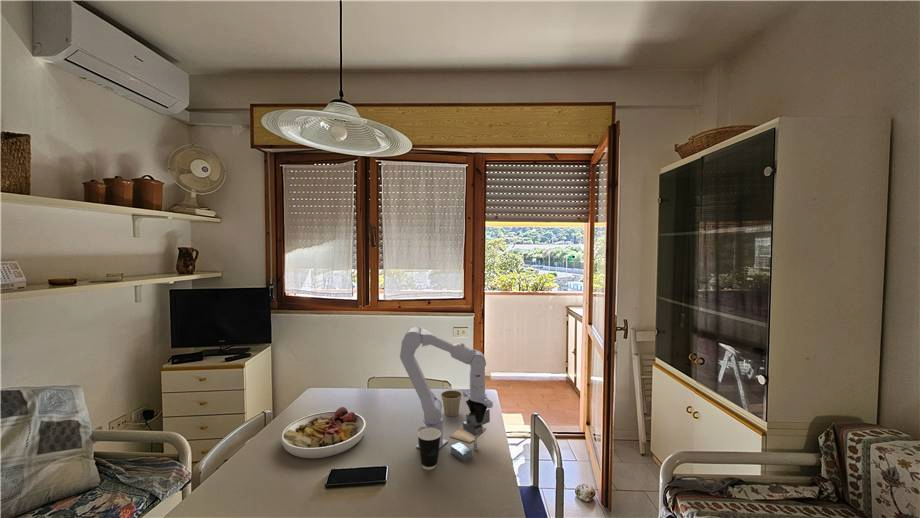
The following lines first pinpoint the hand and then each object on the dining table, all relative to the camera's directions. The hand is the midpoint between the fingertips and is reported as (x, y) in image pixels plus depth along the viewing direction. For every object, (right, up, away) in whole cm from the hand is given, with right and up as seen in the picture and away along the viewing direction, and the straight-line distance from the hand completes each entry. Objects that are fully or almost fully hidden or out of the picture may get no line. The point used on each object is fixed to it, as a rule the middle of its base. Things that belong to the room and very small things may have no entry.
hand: (477, 420), depth 142 cm
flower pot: (-10, -8, +25) cm, 28 cm away
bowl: (-58, -9, +3) cm, 59 cm away
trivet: (-3, -8, +8) cm, 12 cm away
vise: (-4, -9, -6) cm, 11 cm away
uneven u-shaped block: (+1, -2, -2) cm, 3 cm away
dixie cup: (-17, -9, -14) cm, 24 cm away
